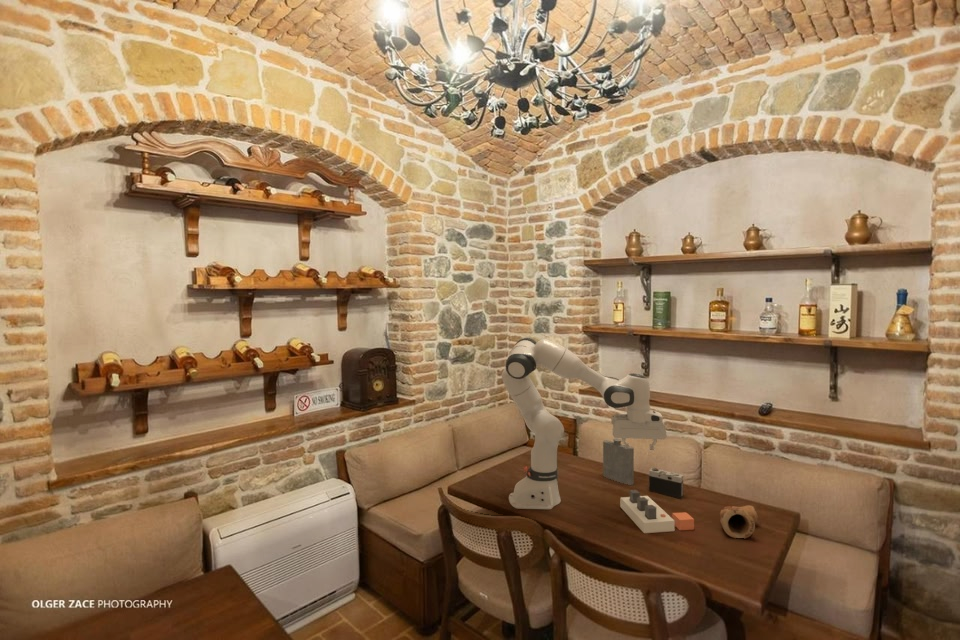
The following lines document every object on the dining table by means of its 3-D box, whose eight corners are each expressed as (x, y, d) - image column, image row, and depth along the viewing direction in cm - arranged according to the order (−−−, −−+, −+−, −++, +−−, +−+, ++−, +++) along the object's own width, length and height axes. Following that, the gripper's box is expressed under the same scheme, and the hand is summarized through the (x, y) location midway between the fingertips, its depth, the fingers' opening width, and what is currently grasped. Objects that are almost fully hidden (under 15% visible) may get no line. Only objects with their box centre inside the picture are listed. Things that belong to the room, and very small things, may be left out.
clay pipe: (708, 535, 181) (734, 542, 167) (702, 505, 183) (727, 510, 169) (750, 528, 184) (780, 535, 170) (744, 499, 187) (773, 504, 173)
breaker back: (632, 504, 192) (632, 493, 192) (629, 500, 195) (629, 490, 195) (639, 503, 193) (639, 492, 192) (636, 500, 196) (636, 489, 195)
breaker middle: (640, 511, 185) (640, 500, 185) (637, 508, 188) (637, 497, 188) (647, 511, 186) (647, 500, 185) (644, 508, 189) (644, 497, 188)
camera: (686, 493, 210) (686, 471, 210) (680, 499, 204) (680, 476, 203) (654, 485, 219) (655, 464, 219) (648, 491, 213) (648, 469, 212)
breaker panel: (644, 533, 176) (644, 521, 176) (620, 506, 198) (620, 496, 197) (674, 531, 177) (674, 519, 177) (647, 505, 199) (647, 494, 199)
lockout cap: (679, 530, 178) (679, 520, 177) (671, 523, 183) (672, 513, 183) (693, 529, 178) (694, 519, 178) (685, 522, 184) (685, 512, 184)
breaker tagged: (648, 520, 178) (648, 508, 178) (645, 516, 181) (645, 505, 181) (656, 519, 179) (656, 508, 179) (652, 516, 182) (652, 504, 182)
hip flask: (634, 483, 221) (635, 442, 220) (630, 486, 218) (630, 444, 217) (605, 474, 233) (605, 434, 232) (600, 476, 230) (600, 436, 229)
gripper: (611, 416, 185) (612, 450, 186) (666, 417, 180) (667, 452, 181) (611, 412, 191) (611, 445, 192) (664, 413, 186) (665, 447, 187)
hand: (639, 449), depth 186 cm, fingers open, 8 cm apart
